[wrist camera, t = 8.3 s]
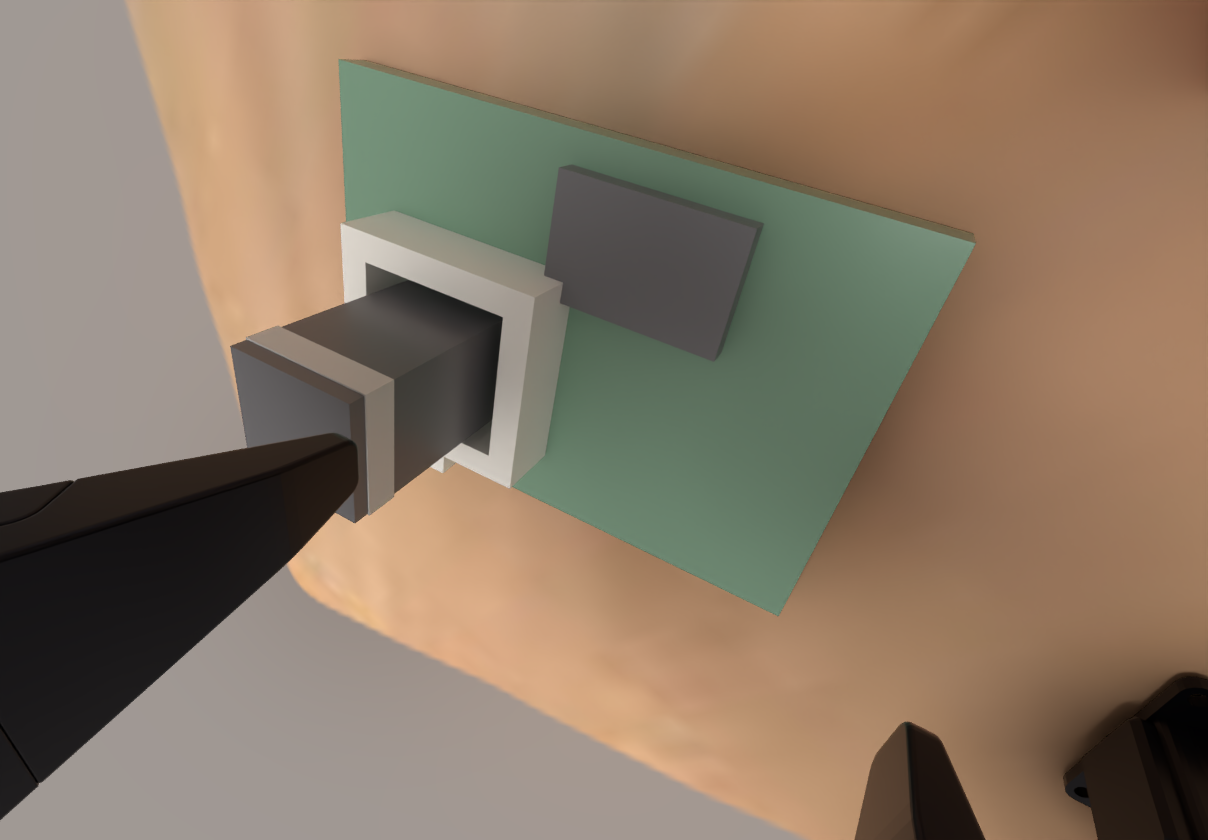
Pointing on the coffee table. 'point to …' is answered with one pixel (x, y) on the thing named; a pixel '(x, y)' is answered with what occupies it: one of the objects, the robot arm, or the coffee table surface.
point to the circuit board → (646, 317)
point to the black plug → (375, 383)
